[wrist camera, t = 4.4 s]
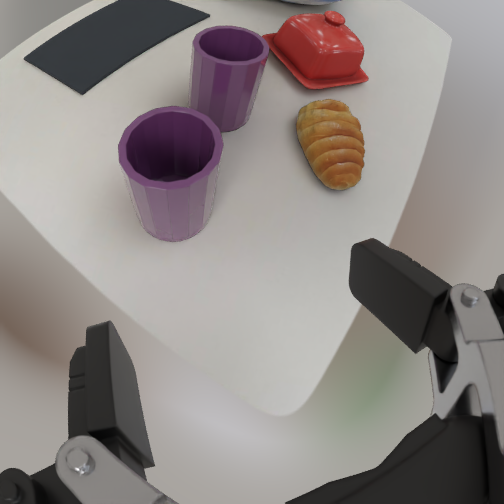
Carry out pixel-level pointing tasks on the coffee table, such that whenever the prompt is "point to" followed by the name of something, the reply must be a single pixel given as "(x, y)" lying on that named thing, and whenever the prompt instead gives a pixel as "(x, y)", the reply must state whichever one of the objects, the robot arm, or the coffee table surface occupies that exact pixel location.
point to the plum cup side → (226, 74)
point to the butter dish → (319, 50)
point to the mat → (110, 40)
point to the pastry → (332, 142)
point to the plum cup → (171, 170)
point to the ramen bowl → (311, 1)
